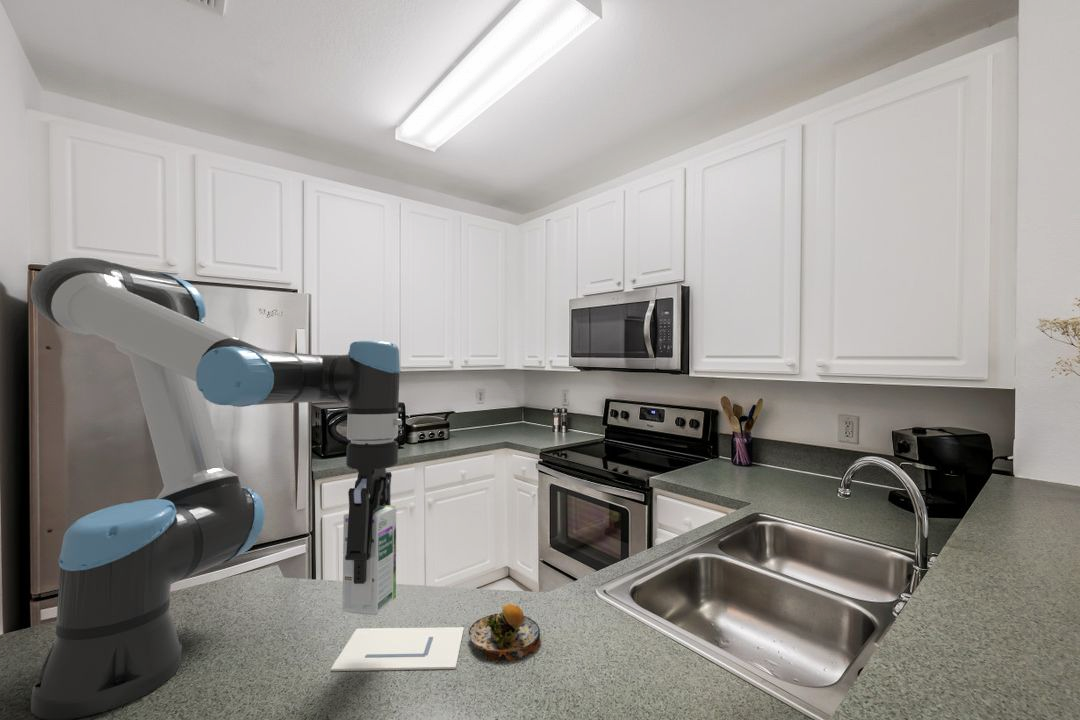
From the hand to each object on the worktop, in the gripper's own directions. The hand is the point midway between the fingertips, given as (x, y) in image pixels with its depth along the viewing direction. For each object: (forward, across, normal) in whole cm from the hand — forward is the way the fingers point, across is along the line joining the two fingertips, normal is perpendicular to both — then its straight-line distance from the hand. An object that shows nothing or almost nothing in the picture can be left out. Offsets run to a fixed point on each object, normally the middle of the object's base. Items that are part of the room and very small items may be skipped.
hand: (369, 592), depth 70 cm
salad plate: (+11, +5, -21) cm, 24 cm away
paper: (+10, +3, -5) cm, 11 cm away
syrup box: (+2, 0, 0) cm, 2 cm away
